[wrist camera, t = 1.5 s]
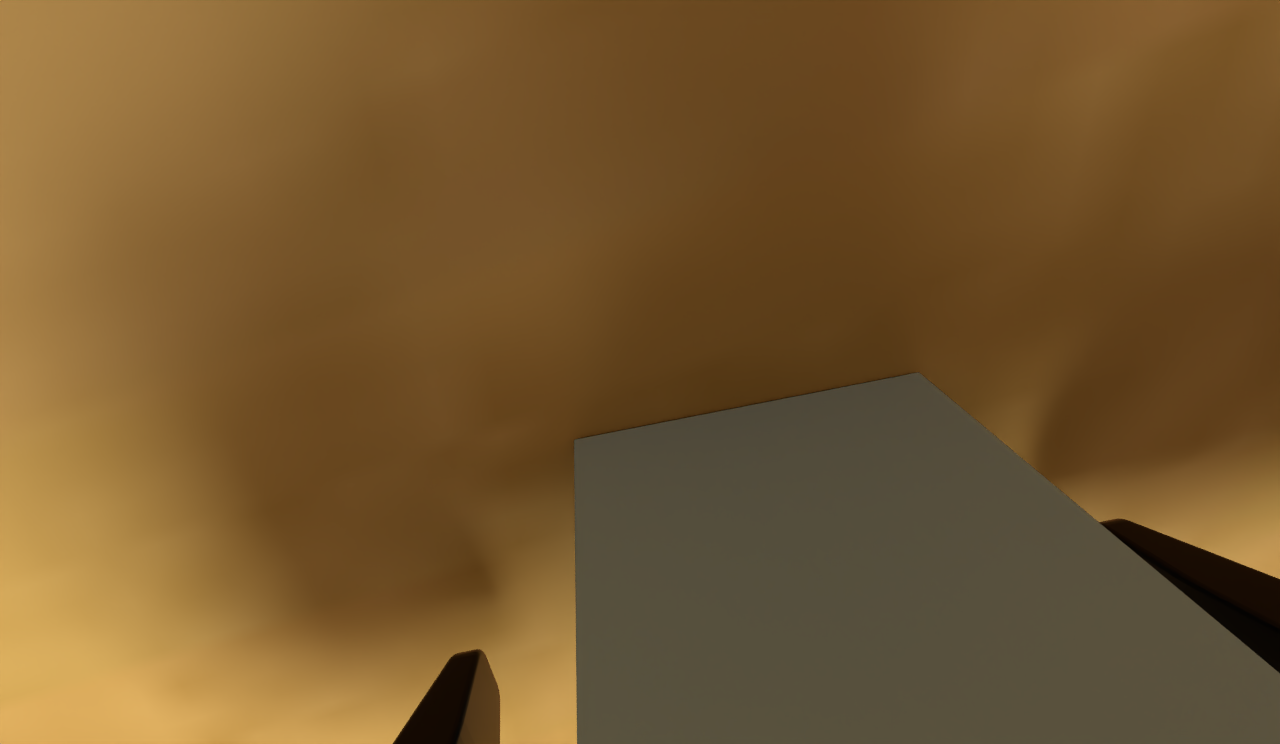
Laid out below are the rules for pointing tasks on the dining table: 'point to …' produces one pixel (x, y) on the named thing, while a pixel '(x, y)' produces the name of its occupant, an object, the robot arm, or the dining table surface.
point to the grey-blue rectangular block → (877, 591)
